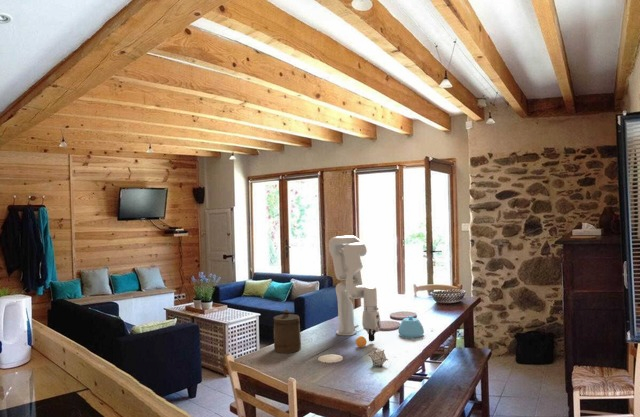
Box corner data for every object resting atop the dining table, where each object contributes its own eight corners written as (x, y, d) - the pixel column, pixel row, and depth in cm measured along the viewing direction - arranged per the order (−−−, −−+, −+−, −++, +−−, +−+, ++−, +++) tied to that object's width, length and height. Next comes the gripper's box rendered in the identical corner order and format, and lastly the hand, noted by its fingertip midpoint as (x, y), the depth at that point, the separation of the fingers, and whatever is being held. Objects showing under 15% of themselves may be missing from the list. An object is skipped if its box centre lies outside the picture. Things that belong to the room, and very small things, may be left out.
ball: (360, 345, 273) (360, 334, 273) (368, 347, 269) (368, 336, 269) (353, 347, 269) (353, 336, 269) (362, 349, 264) (361, 338, 264)
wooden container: (287, 344, 280) (285, 306, 280) (306, 348, 271) (305, 309, 271) (268, 350, 269) (267, 311, 269) (288, 355, 259) (286, 314, 259)
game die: (378, 374, 236) (369, 361, 231) (371, 363, 243) (363, 350, 239) (393, 364, 236) (385, 351, 232) (386, 353, 244) (378, 340, 239)
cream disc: (330, 353, 260) (329, 352, 260) (348, 358, 251) (348, 357, 251) (312, 359, 251) (312, 358, 251) (331, 364, 242) (331, 364, 242)
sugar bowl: (424, 339, 281) (423, 319, 280) (398, 338, 284) (397, 319, 283) (423, 332, 295) (423, 313, 295) (399, 331, 298) (398, 313, 298)
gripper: (385, 309, 272) (386, 341, 273) (364, 305, 283) (365, 337, 283) (376, 311, 267) (378, 344, 267) (356, 308, 278) (357, 340, 278)
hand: (371, 340), depth 275 cm, fingers closed
